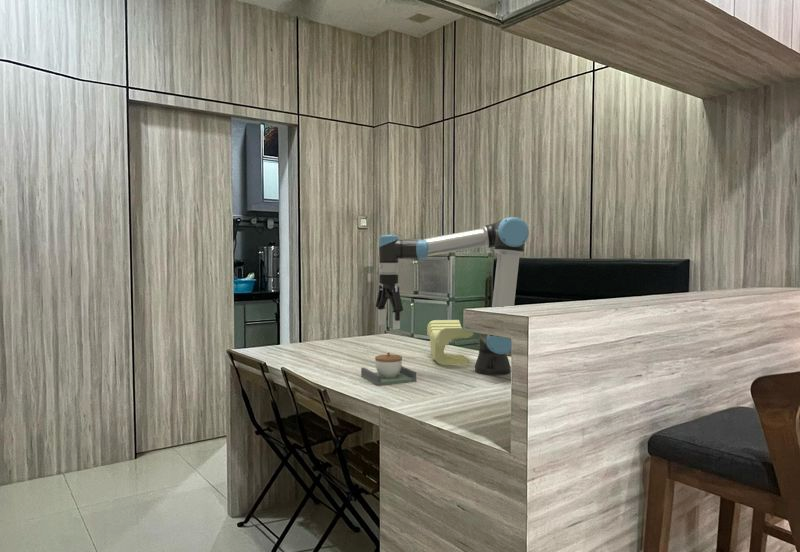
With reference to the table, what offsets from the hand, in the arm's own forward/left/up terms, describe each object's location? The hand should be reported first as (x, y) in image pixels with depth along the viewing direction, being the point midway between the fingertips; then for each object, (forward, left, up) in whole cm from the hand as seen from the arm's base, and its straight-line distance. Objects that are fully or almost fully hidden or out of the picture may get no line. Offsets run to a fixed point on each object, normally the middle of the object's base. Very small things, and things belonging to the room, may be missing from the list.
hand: (388, 327), depth 212 cm
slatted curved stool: (-41, -20, -21) cm, 50 cm away
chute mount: (0, 0, -21) cm, 21 cm away
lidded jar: (0, 0, -20) cm, 20 cm away
